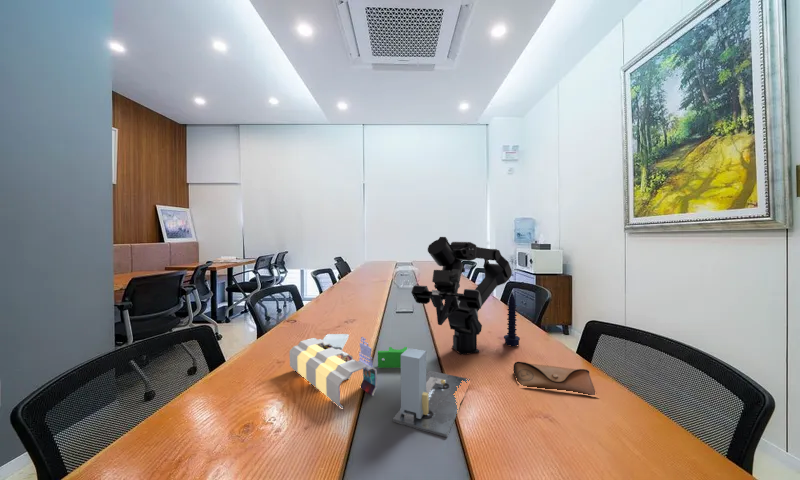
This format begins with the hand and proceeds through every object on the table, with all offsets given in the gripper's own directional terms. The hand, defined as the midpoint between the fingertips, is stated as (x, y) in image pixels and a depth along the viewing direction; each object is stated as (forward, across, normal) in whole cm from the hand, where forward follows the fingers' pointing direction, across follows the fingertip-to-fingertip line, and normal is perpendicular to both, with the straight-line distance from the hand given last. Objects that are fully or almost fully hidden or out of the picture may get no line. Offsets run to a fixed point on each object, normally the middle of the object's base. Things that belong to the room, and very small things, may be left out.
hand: (439, 324), depth 76 cm
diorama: (+20, -24, 0) cm, 31 cm away
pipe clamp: (+9, -13, +11) cm, 19 cm away
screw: (-12, +16, +31) cm, 37 cm away
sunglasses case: (+5, +27, +15) cm, 31 cm away
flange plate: (+17, +2, +2) cm, 17 cm away
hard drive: (+5, -40, +15) cm, 43 cm away
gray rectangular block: (+22, 0, -4) cm, 22 cm away
